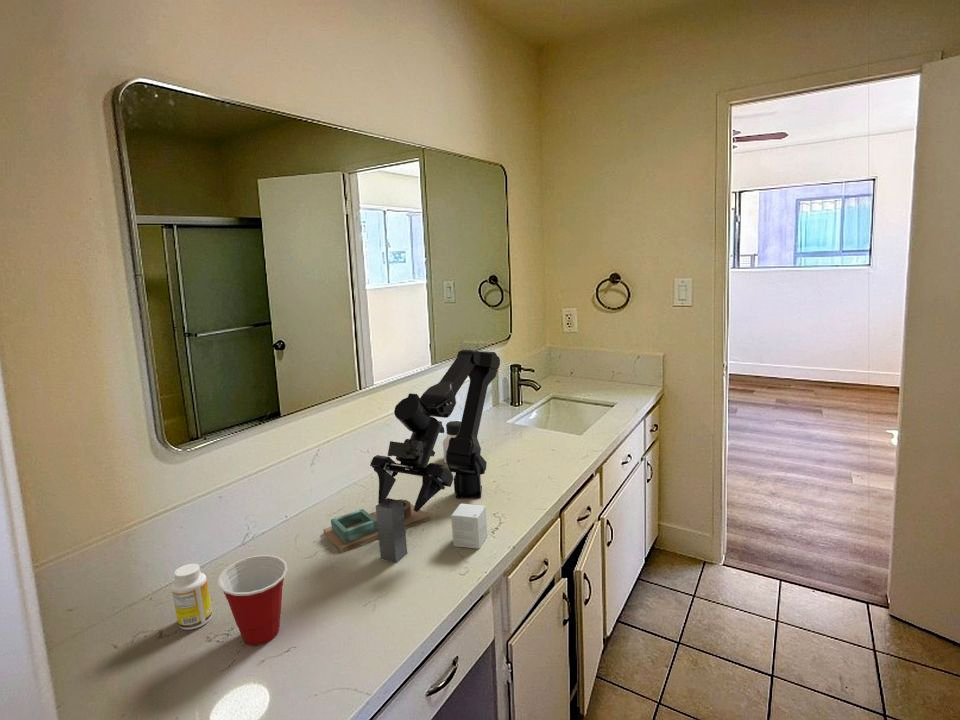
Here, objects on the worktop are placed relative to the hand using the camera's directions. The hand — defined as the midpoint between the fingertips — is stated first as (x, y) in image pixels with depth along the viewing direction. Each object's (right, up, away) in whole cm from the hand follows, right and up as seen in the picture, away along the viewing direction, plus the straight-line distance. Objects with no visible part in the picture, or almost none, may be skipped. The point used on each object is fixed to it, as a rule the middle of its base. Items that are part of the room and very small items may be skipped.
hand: (397, 507), depth 118 cm
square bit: (-1, -10, 0) cm, 10 cm away
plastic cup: (-20, -16, -23) cm, 34 cm away
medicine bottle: (+11, +1, +53) cm, 54 cm away
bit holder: (-7, -8, +13) cm, 17 cm away
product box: (+15, -9, +4) cm, 18 cm away
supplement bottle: (-33, -16, -18) cm, 41 cm away
